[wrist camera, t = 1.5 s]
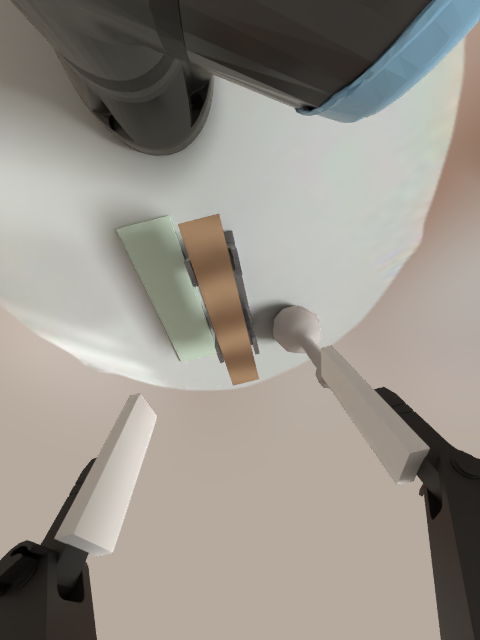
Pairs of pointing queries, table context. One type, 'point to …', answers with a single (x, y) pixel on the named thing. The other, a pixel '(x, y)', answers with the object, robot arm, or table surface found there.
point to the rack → (240, 287)
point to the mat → (169, 285)
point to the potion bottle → (300, 334)
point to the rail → (220, 294)
